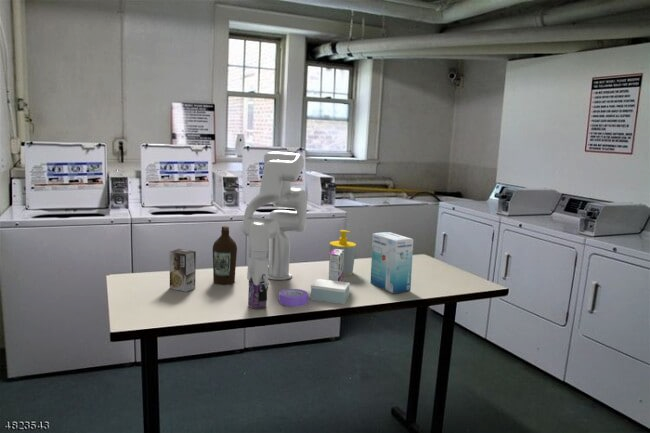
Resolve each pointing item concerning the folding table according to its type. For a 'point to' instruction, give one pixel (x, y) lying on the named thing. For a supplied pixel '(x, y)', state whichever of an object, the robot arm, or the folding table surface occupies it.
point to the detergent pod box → (330, 291)
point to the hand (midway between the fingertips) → (257, 297)
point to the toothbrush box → (391, 262)
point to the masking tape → (293, 297)
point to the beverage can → (255, 296)
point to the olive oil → (224, 258)
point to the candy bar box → (336, 265)
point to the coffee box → (182, 269)
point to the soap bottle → (345, 252)
